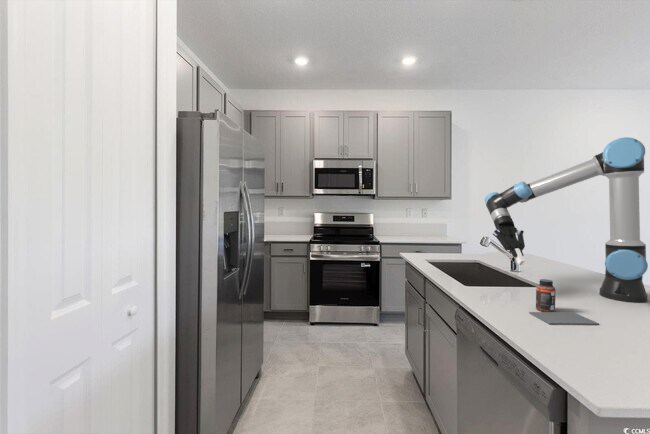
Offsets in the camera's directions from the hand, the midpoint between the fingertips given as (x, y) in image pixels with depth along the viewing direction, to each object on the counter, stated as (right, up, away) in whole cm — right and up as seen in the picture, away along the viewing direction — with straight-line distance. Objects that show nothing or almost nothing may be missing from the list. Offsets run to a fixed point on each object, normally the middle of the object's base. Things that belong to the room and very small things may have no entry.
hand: (521, 263), depth 135 cm
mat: (0, -16, -23) cm, 28 cm away
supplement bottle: (0, -16, -14) cm, 21 cm away
